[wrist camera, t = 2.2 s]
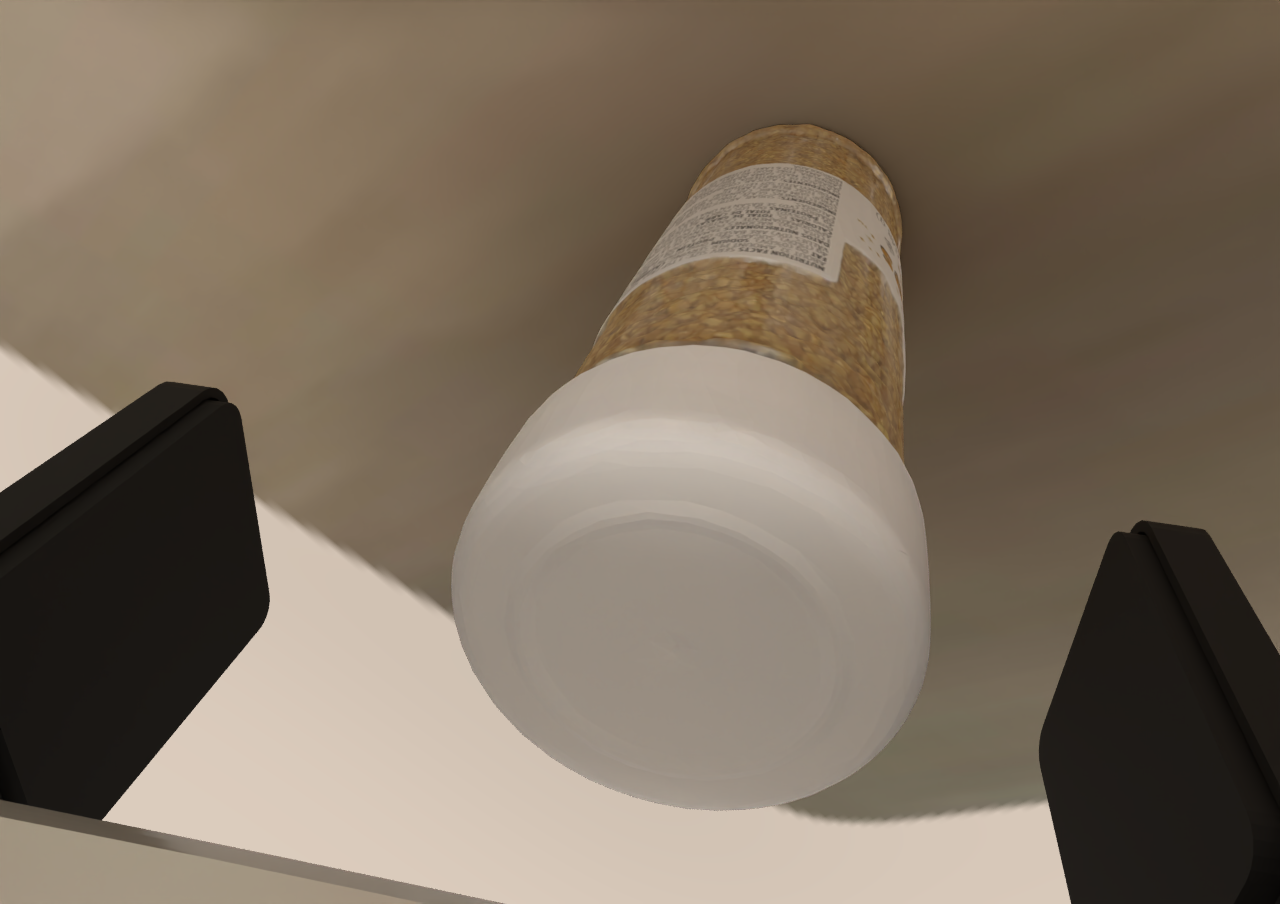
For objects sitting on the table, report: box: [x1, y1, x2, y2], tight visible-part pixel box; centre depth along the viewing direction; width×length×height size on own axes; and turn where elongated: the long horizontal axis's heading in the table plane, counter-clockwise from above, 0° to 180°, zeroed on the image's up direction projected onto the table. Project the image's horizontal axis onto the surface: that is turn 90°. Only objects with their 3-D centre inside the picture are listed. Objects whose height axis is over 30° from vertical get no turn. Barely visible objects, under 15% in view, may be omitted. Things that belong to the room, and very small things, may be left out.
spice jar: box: [451, 124, 931, 811], centre depth 15 cm, size 5×5×14 cm
